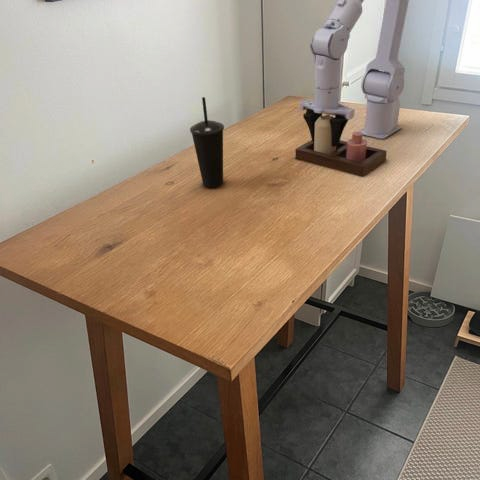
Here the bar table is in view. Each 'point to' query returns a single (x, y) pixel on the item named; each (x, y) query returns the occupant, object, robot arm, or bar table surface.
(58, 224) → the bar table surface
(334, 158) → the holder
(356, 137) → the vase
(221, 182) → the drinking cup
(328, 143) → the candle
